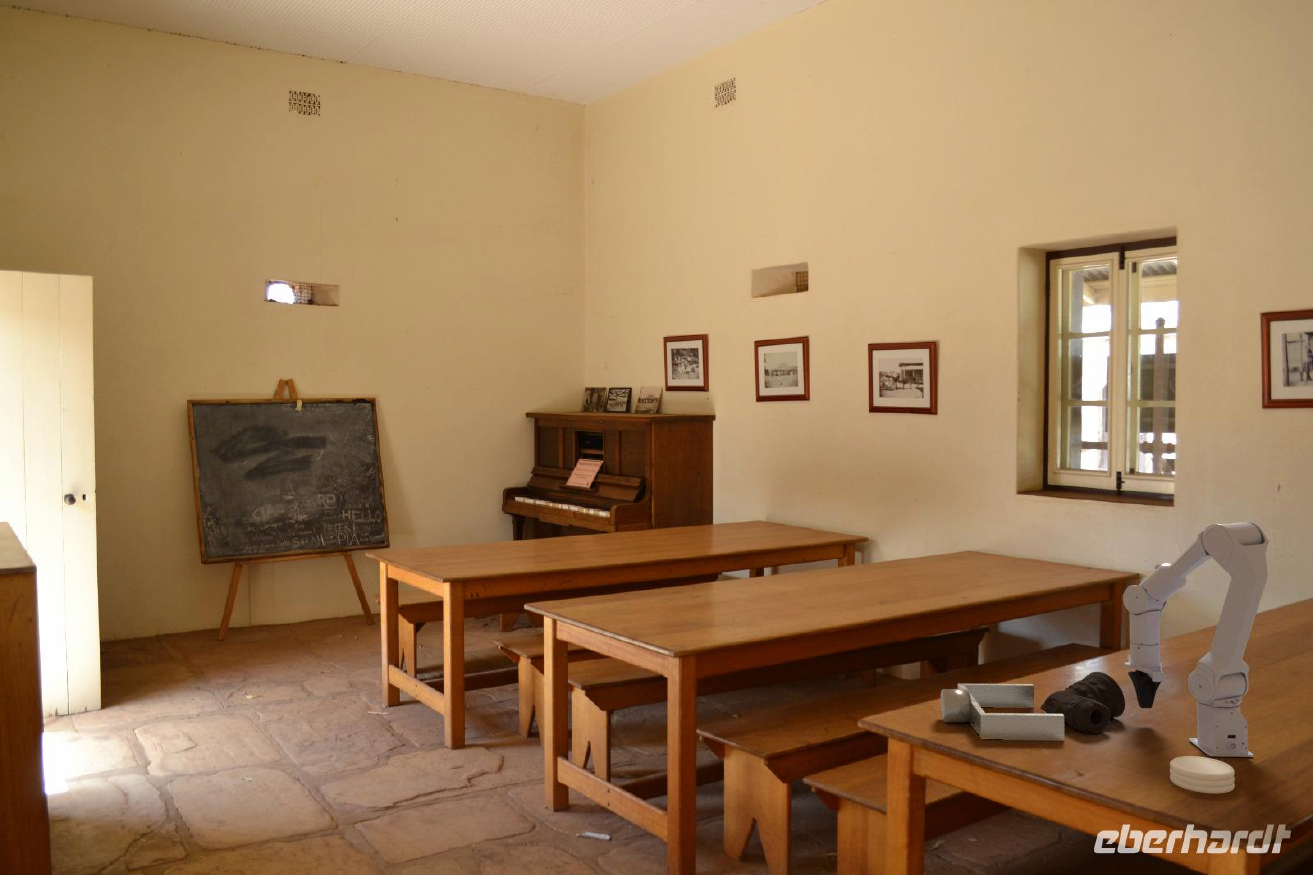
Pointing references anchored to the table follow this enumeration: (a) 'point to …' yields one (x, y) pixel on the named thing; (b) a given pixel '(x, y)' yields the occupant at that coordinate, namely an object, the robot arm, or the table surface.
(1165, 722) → the table surface
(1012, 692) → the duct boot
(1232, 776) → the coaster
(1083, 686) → the pipe
